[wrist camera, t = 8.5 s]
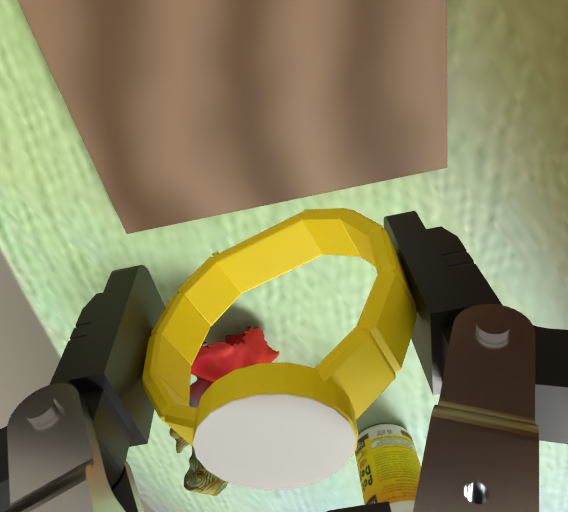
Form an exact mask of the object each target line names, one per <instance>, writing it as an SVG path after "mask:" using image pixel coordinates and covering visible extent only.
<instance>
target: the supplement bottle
mask: <svg viewBox="0 0 568 512" xmlns="http://www.w3.org/2000/svg"><path fill="white" fill-rule="evenodd" d="M355 456H356V461H357V466H358V471H359V477H360V482H361V487H362V492H363V498H364V503H365V505H368V504H374V503H380V502H386V501H389V504H390V508H391V512H413V508H414V503H415V498H416V492H417V487H418V482H419V477H420V472H421V466H420V463H419V460H418V456H417V453H416V450H415V447H414V443H413V440H412V438H411V435H410V434H409V432H408V431H407V430H406V429H404V428H403V427H401V426H398V425H394V424H381V425H376V426H373V427H370V428H368V429H366V430H364V431H363V432H362V433H361V434H360V435H359V436H358V441H357V448H356V451H355Z"/></svg>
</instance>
